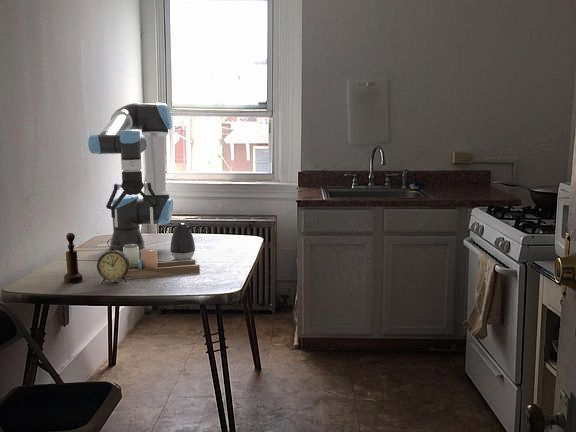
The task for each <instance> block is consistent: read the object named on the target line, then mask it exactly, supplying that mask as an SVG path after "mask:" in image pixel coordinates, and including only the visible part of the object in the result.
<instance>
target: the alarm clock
mask: <svg viewBox="0 0 576 432" xmlns="http://www.w3.org/2000/svg"><path fill="white" fill-rule="evenodd" d="M111 240H115V239H111V238H110V239H108V240H107V243H106V244H107V246H108V247H109V248H110V244H109V242H110V241H111ZM115 241H116V240H115ZM116 245H117V241H116ZM116 245H115V246H116ZM115 246H114V247H115ZM114 247H113V246H111V249H110V250H106V251H105V252H104V253H102V255H101V254H100V256H99V258H98V260H97V264H96V270H97V273H98V275H99V276H100V277H101V278H102V281H101V284H102V285H103V284H104V282H105V281H108V282H118V281H120V280H123V281H124V283H126V284H127V283H128V281H127V279H125V278H124V276H125V275H126V274H127V272H128V270H129V260H128V258H127V256H126V255H125V254H124V253H123V251H118V250H114V249H113V248H114Z"/></svg>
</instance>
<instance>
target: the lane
mask: <svg viewBox="0 0 576 432" xmlns="http://www.w3.org/2000/svg"><path fill="white" fill-rule="evenodd" d="M134 265H137V264H131V265H129V266H134ZM200 267H201V266H200V264H196V259H189V260H171V261H170V260H169V261H158V268H149V269H137V268H129V270H128V272H127V274H126V275H125V276H124V278H125V280H131V279H142V278H153V277H164V276H165V277H166V276H178V275H188V274H189V275H190V274H200V273H201V269H200Z"/></svg>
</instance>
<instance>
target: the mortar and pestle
mask: <svg viewBox="0 0 576 432" xmlns="http://www.w3.org/2000/svg"><path fill="white" fill-rule="evenodd" d="M75 235H76V234H74V233H73V232H68V233H67V234H66V236H65V238H66V241H67V242H68V244H67V249H68V250H67V251H65V259H66V260H65V261H66V271H67V272H66V273H65V274H64V275H63V282H64V283H65V284H68V283H72V284H77V283H81V282H83V280H84V279H83V274H82V273H81V272H79V263H78V262H79V260H78V251H77V250H75V244H74V241H75V238H76V236H75Z"/></svg>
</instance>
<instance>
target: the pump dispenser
mask: <svg viewBox="0 0 576 432" xmlns="http://www.w3.org/2000/svg"><path fill="white" fill-rule="evenodd" d="M194 228H195V225H193V224H192V225H190V226H188V225H187V223H184V222H181V223H178V224H177V225H176V226H175V227H174V230H173V233H172V235H171V241H170V247H169V248H170V249H169V250H170V253H171V255H172V257H173V259H175V260H176V261H182V260H191V259H192V258H193V257H194V255H195V252H196V244H195V240H194V236H193V233H192V231H191V230H192V229H194Z"/></svg>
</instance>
